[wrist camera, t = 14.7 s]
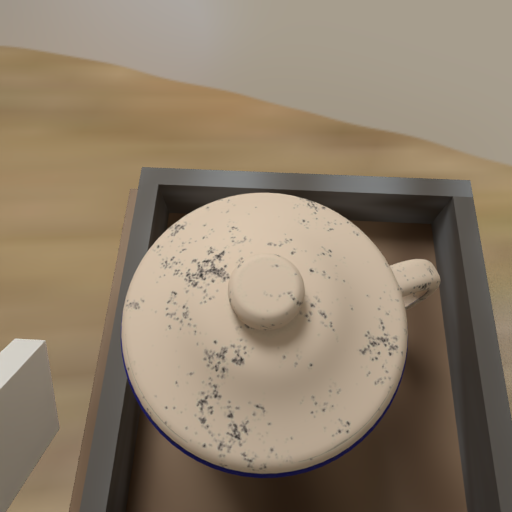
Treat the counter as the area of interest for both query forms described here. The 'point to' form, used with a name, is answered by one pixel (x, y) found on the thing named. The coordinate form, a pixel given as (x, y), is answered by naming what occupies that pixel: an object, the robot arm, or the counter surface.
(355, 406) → the teacup with lid
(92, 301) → the counter surface
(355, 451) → the collar stand
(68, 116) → the counter surface
